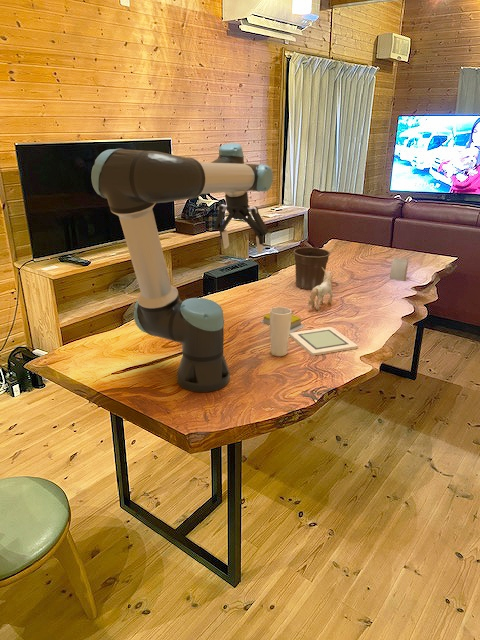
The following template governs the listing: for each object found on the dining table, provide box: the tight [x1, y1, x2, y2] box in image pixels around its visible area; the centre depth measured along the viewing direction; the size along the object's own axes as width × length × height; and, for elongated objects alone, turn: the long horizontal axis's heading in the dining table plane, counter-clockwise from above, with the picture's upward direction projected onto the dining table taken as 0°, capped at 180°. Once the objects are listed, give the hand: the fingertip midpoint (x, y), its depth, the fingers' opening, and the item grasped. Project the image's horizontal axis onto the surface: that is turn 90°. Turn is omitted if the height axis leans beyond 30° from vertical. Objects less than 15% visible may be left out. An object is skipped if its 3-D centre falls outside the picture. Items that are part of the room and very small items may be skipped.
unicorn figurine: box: [307, 267, 334, 312], centre depth 197 cm, size 7×20×13 cm, turn 156°
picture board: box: [289, 326, 359, 357], centre depth 167 cm, size 17×17×1 cm
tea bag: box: [389, 257, 409, 282], centre depth 233 cm, size 4×7×10 cm, turn 57°
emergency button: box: [260, 313, 306, 333], centre depth 180 cm, size 9×4×15 cm
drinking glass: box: [269, 306, 292, 357], centre depth 155 cm, size 7×7×15 cm
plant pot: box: [293, 246, 331, 291], centre depth 220 cm, size 16×16×16 cm
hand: (243, 249), depth 174 cm, fingers open, 13 cm apart
